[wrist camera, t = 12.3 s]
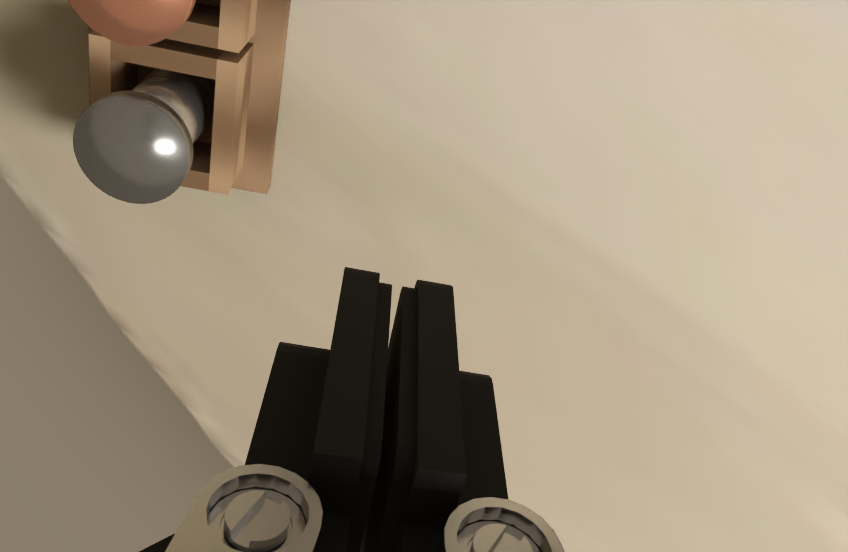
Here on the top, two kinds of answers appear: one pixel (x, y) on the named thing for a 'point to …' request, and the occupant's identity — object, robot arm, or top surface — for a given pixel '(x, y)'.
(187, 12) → the plug mid
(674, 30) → the top surface
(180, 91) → the plug
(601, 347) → the top surface
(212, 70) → the socket board
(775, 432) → the top surface
